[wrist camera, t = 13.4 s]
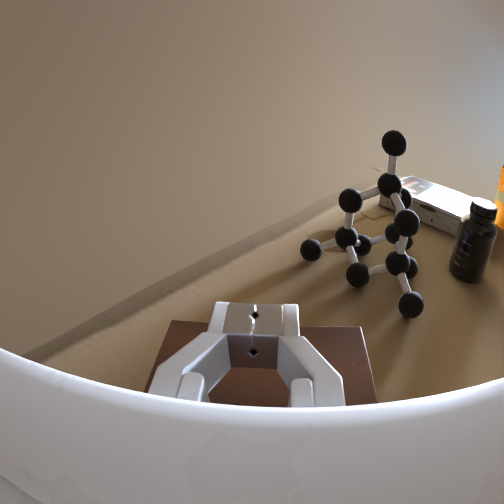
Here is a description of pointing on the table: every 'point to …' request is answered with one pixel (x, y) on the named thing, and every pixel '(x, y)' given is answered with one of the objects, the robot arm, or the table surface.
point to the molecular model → (394, 233)
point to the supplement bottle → (474, 241)
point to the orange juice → (500, 202)
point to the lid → (269, 380)
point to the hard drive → (434, 204)
